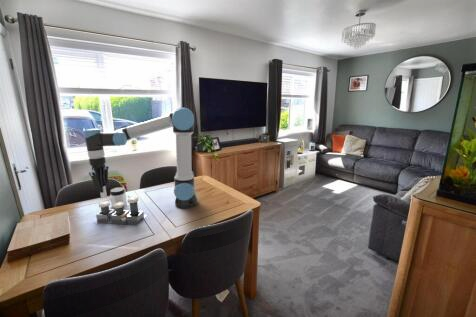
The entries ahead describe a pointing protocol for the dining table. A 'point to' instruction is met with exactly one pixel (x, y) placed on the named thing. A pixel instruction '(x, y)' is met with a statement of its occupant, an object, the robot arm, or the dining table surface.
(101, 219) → the console
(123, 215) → the trim pot
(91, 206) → the dining table surface
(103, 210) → the knob
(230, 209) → the dining table surface
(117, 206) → the knob mid
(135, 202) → the knob
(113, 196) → the jar
